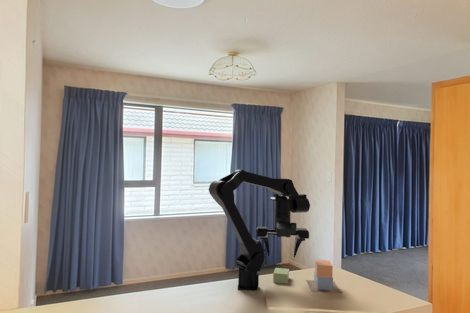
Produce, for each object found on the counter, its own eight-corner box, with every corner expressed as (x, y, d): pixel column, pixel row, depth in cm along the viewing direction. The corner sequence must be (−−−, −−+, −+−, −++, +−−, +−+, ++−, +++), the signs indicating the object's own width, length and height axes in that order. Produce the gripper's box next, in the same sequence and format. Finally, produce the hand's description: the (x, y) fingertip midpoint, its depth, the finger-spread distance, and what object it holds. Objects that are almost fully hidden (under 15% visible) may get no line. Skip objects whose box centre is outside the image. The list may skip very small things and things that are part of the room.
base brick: (317, 289, 116) (317, 277, 116) (314, 282, 123) (314, 271, 123) (332, 290, 115) (333, 277, 116) (328, 283, 122) (328, 271, 123)
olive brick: (273, 284, 122) (273, 273, 122) (275, 278, 129) (275, 267, 129) (287, 285, 121) (287, 274, 121) (288, 279, 128) (289, 268, 128)
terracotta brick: (317, 277, 116) (317, 265, 116) (314, 271, 123) (314, 259, 123) (332, 278, 115) (332, 265, 116) (329, 272, 122) (329, 260, 122)
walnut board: (311, 293, 113) (311, 291, 113) (306, 281, 125) (306, 280, 125) (342, 294, 113) (342, 293, 113) (334, 283, 125) (334, 281, 125)
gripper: (257, 214, 118) (255, 260, 118) (312, 216, 117) (311, 263, 117) (256, 211, 130) (255, 253, 129) (307, 213, 128) (306, 255, 128)
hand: (281, 256), depth 125 cm, fingers open, 9 cm apart
